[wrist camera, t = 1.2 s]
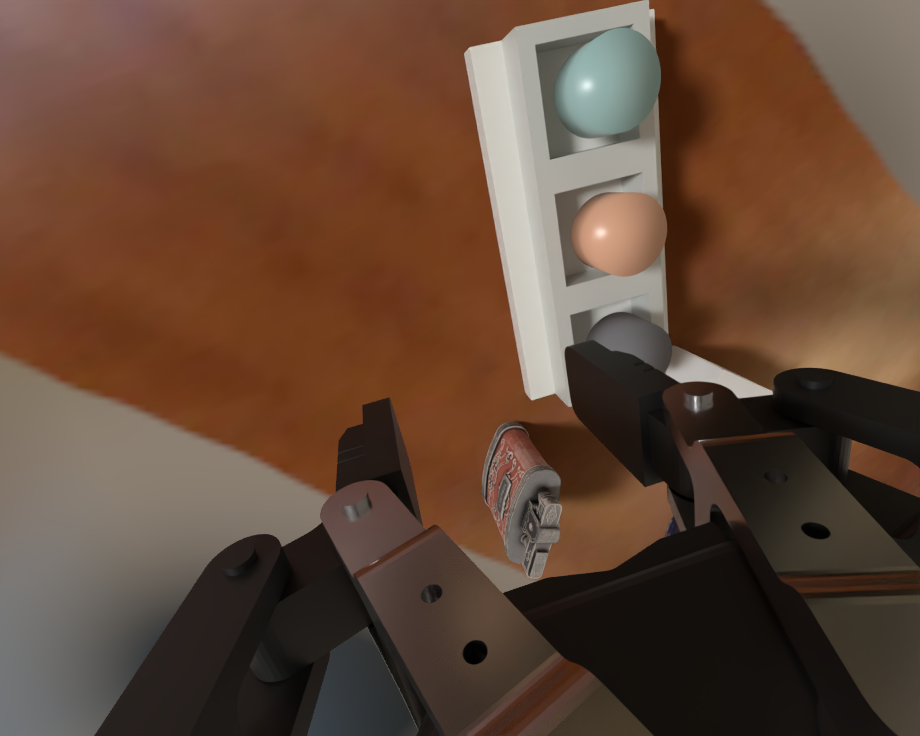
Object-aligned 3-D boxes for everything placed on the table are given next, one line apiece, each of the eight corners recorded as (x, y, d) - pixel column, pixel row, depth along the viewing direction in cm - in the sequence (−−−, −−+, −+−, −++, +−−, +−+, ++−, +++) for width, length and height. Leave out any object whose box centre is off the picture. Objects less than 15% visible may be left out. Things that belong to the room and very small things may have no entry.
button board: (464, 54, 29) (480, 34, 26) (640, 16, 31) (680, -8, 27) (525, 392, 39) (543, 414, 35) (658, 353, 40) (690, 370, 36)
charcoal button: (580, 322, 33) (601, 334, 30) (644, 303, 33) (670, 314, 30) (588, 383, 34) (608, 400, 32) (648, 365, 35) (673, 380, 32)
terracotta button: (566, 202, 29) (588, 203, 27) (637, 184, 30) (665, 183, 27) (575, 276, 31) (596, 285, 29) (641, 258, 32) (668, 265, 29)
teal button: (548, 53, 26) (571, 38, 24) (627, 36, 27) (658, 19, 24) (559, 146, 28) (581, 142, 25) (633, 129, 29) (662, 122, 26)
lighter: (494, 419, 39) (537, 490, 30) (532, 422, 40) (585, 492, 31) (475, 502, 41) (509, 590, 32) (511, 503, 42) (554, 590, 33)
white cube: (722, 366, 42) (778, 393, 37) (687, 424, 43) (735, 458, 38) (672, 344, 40) (723, 368, 35) (637, 405, 42) (680, 438, 36)
